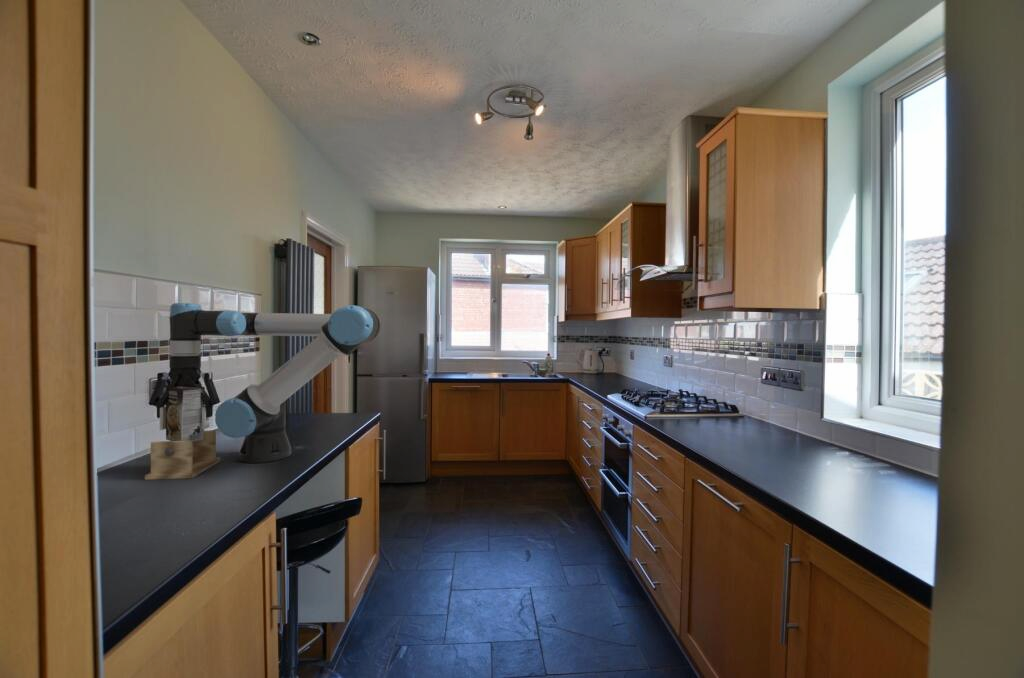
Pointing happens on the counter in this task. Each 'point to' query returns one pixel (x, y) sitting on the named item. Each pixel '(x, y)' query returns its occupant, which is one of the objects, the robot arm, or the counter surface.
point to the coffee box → (184, 414)
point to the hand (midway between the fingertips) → (185, 428)
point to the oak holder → (182, 457)
